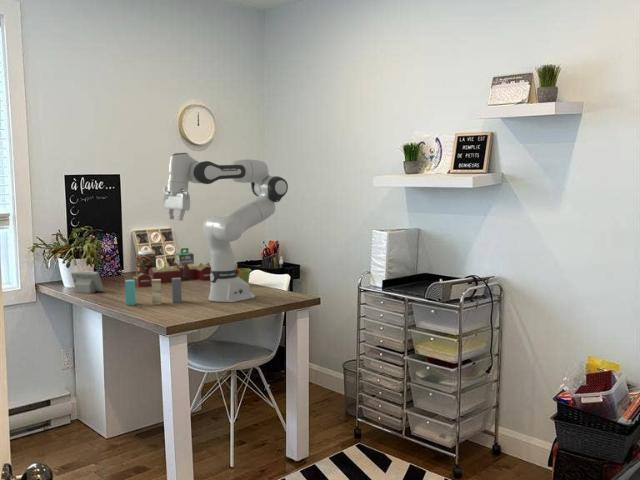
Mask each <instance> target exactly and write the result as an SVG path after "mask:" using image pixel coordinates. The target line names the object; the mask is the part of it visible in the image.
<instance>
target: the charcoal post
mask: <svg viewBox="0 0 640 480" xmlns="http://www.w3.org/2000/svg"><path fill="white" fill-rule="evenodd" d="M171 290H172V291H171V293H172V295H171V296H172V298H171V299H172V303H173V304H177V303H183V302H182V281H181V278H172V282H171Z"/></svg>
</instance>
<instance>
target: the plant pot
mask: <svg viewBox="0 0 640 480" xmlns="http://www.w3.org/2000/svg"><path fill="white" fill-rule="evenodd" d="M235 269H236V270H241V271H242V272H241V274H238V277H239V278H241V279H242V280H243V281H245V282H246V283H248V284H249V280H250V274H251V272H252V269H251V268H244V267H243V268H235Z"/></svg>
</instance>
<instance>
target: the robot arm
mask: <svg viewBox="0 0 640 480" xmlns="http://www.w3.org/2000/svg"><path fill="white" fill-rule="evenodd" d="M168 174H169V177H168V180H167V185H165V186H164V187H163V192H164V194H163V208H164V209H165V210H167V213H168V219H169V220H175V215H174V213H175V211H174V210H177V211H178V213H179V214H178V217H177V220H178V221H182V222H183V221H184V215H185V214H186V211H187V212H188V211H190V209H191V195H190V194H189V183H193V184H203V185H210V184H213V183H215V182H217V181H219V180H228V179H229V180H232V181H233V182H235V183H242V184H244V183H245V184H246V183H247V184H248V183H250V185H251V186H250V187H251V191H252V193H253V195H255V196H256V197H257V198H256V199H253V200H252V201H250V202H247V203H246V204H244V205H241V206H239V207H237V208H236V209H235V211H234V212H233V213H231V214H229V215H228V216H224V217H223V216H212V217H208V218H207V219H205V220H204V221H203V224H202V231H203V233H204V235H205V237H206V240H207V244H208V247H209V253H210V266H211V270H210V280H209V281H210V291H209V294H208V295H209V296H208V298H207V299H208V301H209V302H210V301H211V302H217V303H218V302H222V303H225V302H226V303H227V302H228V303H234V302H240V301H245V300H249V299H255V298H256V294H254V293H252V292H251V287H250V284H249V283H246V282H245V281H243V280H242V279H241V278H239V277H238V274H241V272H242V271H241V270H236V269H237V268H235V267H236V266H235V264H236V263H235V261H236V260H235V252H234V250H233V248H232V246H231V243H230V242H234V241H237V240H239V239H240V238H241V237H242V235H243V234H244V233H245V232H246V231H247V230H249V229H251V228H252V227H254V226H256V225H258V224H260V223H261V222H263V221H266V220H267V219H268V218H270V217H271V216H272V215H273V214H275V211H276V203H278V202H280V201H281V200H282V198H283V197H285V196H286V194H287V193H288V189H289V185H288V182H287V180H286V179H284V178H283V177H280V176H278V175H270V174H269V167H268V164H267V163H266V162H264V161H263V160H259V159H258V160H257V159H239V160H238V159H237V160H234V161H232V162H231V163H230V164H221V165H220V164H216V163H214V162H213V161H210V160H209V161H208V160H205V161H198V160H196V159H194V158H193V157H192V156H191V155H190V154H189V153H188V152H179V153H178V152H176V153H173V154H172V155H171V156H170V160H169V167H168Z"/></svg>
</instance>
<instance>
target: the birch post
mask: <svg viewBox="0 0 640 480" xmlns="http://www.w3.org/2000/svg"><path fill="white" fill-rule="evenodd" d="M151 295H152V296H151V297H152V299H151V301H152V302H151V303H152V306H154V305H162V283H161V279H152V283H151Z"/></svg>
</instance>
